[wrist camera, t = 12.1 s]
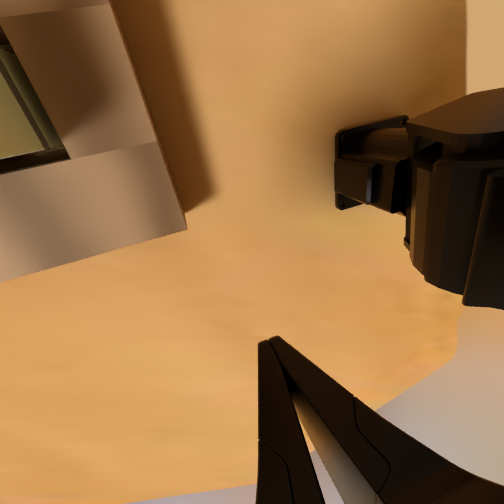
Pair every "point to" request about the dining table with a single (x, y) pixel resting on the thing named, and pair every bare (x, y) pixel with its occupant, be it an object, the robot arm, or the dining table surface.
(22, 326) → the dining table surface
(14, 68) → the peg
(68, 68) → the board
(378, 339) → the dining table surface
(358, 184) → the robot arm
